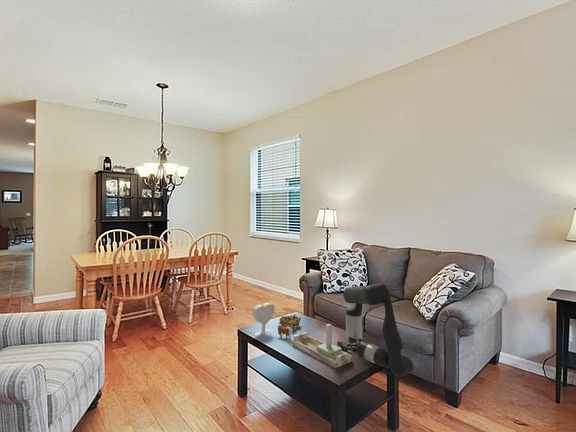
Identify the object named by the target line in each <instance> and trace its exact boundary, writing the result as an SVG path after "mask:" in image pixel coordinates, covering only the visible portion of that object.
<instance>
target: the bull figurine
mask: <svg viewBox="0 0 576 432" xmlns="http://www.w3.org/2000/svg"><path fill="white" fill-rule="evenodd" d="M294 330H295V329H292V328H290V327H284V326H281V324H279V325H278V326H277V333H278V335H279V338H280V339H283V338H282V337H283V335H285V339H287V338H288V337H289V339H291V338H292V337H291V335H292V334H293V331H294Z"/></svg>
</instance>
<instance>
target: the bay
mask: <svg viewBox="0 0 576 432" xmlns="http://www.w3.org/2000/svg"><path fill="white" fill-rule="evenodd" d="M324 343H325V342H323V341H321V340H320V339H317V338H315V337H313V336H311V335H308V332H306V331H305V332H302V333H299V334H296V335H293V339H292V341H291V344H292V347H295V348H297V349H299V350H301V351H302V352H304V353H307V354H309V356H312V357H314V358H315V359H317V360H319V361H321V362H323V363H326V364H327V365H328V366H331V367H332V368H334V369H337V368H339V367H343V366H344V365H346V364H348V363H350V362H351V363H352V360H353V359H352V358H353V357H352V354H349V353H346V352H344V351H342V350H341V355H339V356H336V360H334V359H332V358H330V357H328V356H326V355H324V354H322V353H320V352H318V351H317V346H319V345H321V344H324Z"/></svg>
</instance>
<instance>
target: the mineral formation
mask: <svg viewBox="0 0 576 432" xmlns="http://www.w3.org/2000/svg"><path fill="white" fill-rule="evenodd" d="M301 320H302V317H301V316H298V315H296V313H293V314H290V315H288V316H287V315H282V316H281V317H279V322H278V324H279V325H281V326H284V327H290V328H292V329H294V330H297V328H298V327H299V326H300V324H301Z"/></svg>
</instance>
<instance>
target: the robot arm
mask: <svg viewBox="0 0 576 432" xmlns="http://www.w3.org/2000/svg"><path fill="white" fill-rule="evenodd" d="M343 299H344V301H345V302H346V303H348V304H353V305H351V306H350V307H347V308H346V309H345V310H346V311H345V343H344V342H342V341H340V340H338V341H337V344H336V346H337V347H339V348H341V351H343V352H345V353H349V354H350V355H352V354H353V353H356V354H357V356H358V357H359V358H362V359H363V360H365V361H368V362H371V364H376V365H379V366H381V367H383V368H389V369H390V370H391V373H392V374H393V375H394V376H396V377H403V376H406V375H409V374H411V373H412V372H413V370H414V367H415V366H414V362H413V361H412V360H411V358H409V357H408V356H406V355H403V354H402V350H403V349H404V344H403V343H404V342H403V341H402V338H401V335H400V332H399V330H398V329H399V328H398V326H397V321H396V318H395V317H396V316H395V312H394V307H393V303H392V299H391V295H390V291H389V289H388V286H387V285H386V284H385V283H384V282H378V283H374V284H368V285H366V286H365V285H361V286H356V287H354V286H353V287H345V289H344V290H343ZM382 304H383V307H384V318H383V319H384V320H383V323H382V327H381V329H382V331H381V332H382V336H383V337H382V338H383V341H384V342H385V345H386V348H387V350H386V349H383V348H381V347H379V346H377V345H375V344H373V343H370V342H369V341H367V340H365V339H363V329H364V327H363V305H368V306H376V305H382Z"/></svg>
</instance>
